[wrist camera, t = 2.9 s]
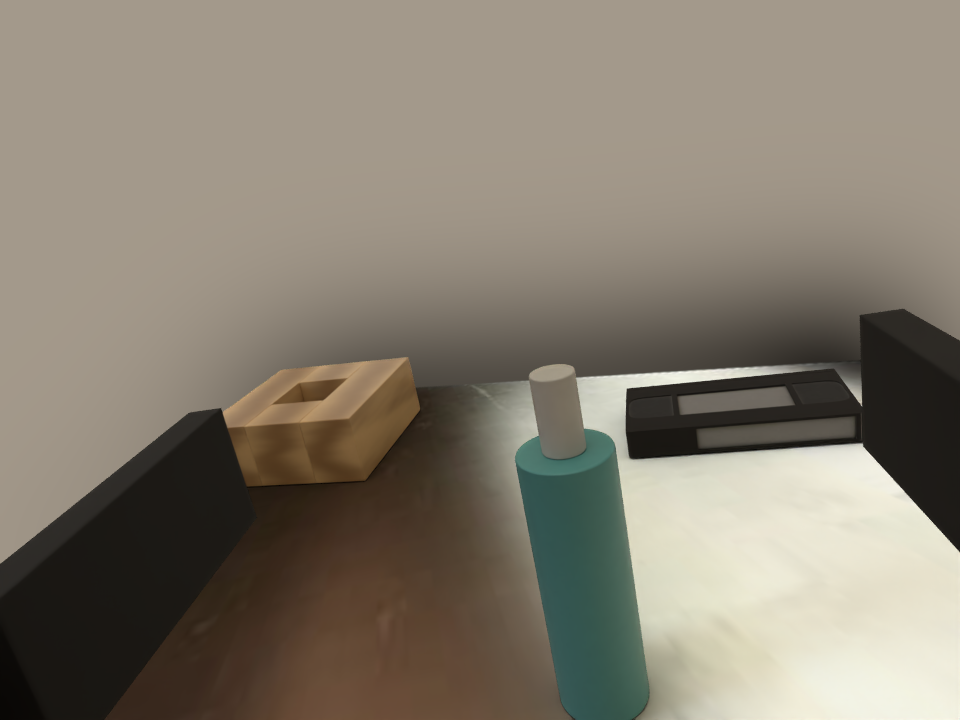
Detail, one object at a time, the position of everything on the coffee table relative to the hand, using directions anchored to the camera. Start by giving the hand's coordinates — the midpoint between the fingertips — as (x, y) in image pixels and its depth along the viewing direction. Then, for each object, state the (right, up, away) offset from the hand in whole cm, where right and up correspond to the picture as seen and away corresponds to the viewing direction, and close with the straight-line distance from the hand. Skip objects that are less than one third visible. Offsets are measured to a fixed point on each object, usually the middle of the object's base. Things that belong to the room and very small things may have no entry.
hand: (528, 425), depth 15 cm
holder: (-14, -6, +44) cm, 47 cm away
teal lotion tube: (+4, -12, +14) cm, 19 cm away
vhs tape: (+17, -3, +34) cm, 38 cm away
